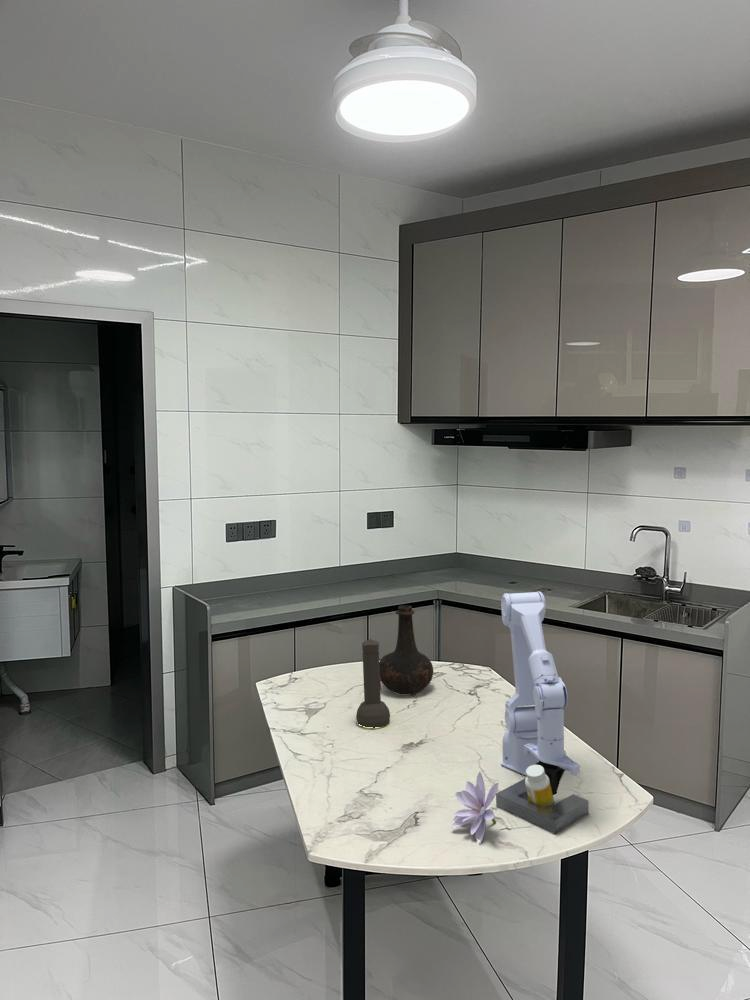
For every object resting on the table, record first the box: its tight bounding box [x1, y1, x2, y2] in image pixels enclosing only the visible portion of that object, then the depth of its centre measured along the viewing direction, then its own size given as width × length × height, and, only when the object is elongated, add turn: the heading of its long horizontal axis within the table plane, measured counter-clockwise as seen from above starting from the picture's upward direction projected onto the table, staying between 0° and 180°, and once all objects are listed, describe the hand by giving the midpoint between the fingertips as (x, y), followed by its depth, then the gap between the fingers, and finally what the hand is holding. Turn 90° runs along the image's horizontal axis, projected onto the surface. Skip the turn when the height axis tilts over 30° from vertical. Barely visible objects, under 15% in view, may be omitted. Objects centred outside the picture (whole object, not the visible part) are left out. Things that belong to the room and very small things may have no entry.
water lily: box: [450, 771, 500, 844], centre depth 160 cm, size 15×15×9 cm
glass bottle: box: [379, 604, 434, 695], centre depth 243 cm, size 18×18×28 cm
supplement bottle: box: [524, 765, 555, 809], centre depth 165 cm, size 5×5×10 cm
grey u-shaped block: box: [495, 777, 590, 835], centre depth 166 cm, size 16×12×3 cm
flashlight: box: [355, 638, 391, 728], centre depth 217 cm, size 10×25×10 cm
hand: (551, 793), depth 168 cm, fingers closed, pressing on supplement bottle
